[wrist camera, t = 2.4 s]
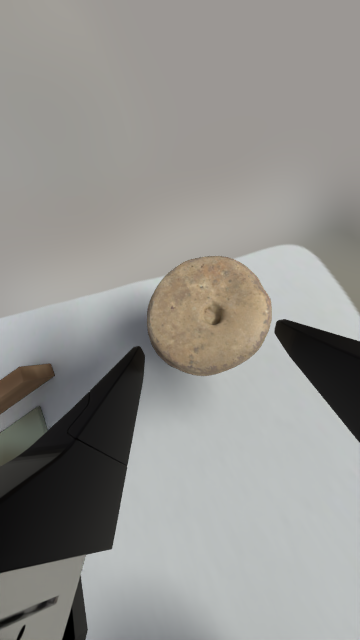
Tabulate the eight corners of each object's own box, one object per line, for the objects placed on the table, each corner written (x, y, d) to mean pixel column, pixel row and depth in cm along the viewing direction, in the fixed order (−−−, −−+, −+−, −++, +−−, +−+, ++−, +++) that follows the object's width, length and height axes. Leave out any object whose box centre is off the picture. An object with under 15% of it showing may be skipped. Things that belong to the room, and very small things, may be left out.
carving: (233, 320, 17) (308, 261, 6) (211, 373, 16) (245, 438, 5) (190, 302, 19) (178, 225, 7) (166, 351, 18) (106, 355, 6)
